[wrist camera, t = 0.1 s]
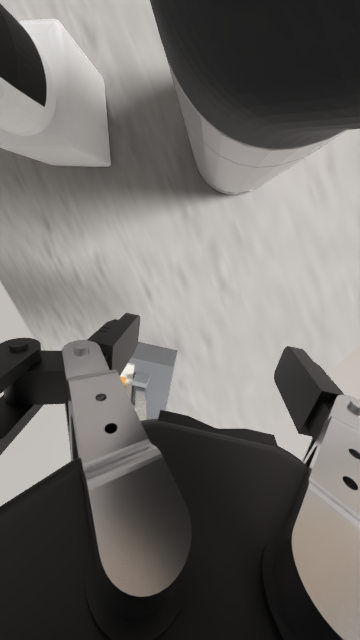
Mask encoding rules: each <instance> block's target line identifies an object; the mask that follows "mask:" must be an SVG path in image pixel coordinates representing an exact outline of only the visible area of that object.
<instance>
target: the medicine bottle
mask: <svg viewBox="0 0 360 640" xmlns="http://www.w3.org/2000/svg"><path fill="white" fill-rule="evenodd" d="M0 148H2V149H5V150H8V151H11V152H14V153H17V154H20V155H23V156H26V157H29V158H32V159H35V160H38V161H41V162H44V163H47V164H50V165H53V166H94V167H109V166H110V165H111V158H110V146H109V133H108V121H107V109H106V96H105V84H104V79H103V77H102V76H101V75H100V73H99V72H98V71H97V70H96V68H95V67H94V66H93V64H92V63H91V62H90V61H89V59H88V58H87V57H86V55H85V54H84V53H83V51H82V50H81V49H80V48H79V46H78V45H77V44H76V42H75V41H74V40H73V39H72V37H71V36H70V35H69V33H68V32H67V31H66V29H65V28H64V27H63V26H62V24H61V23H60V22H59V21H58V20H57V19H40V20H19V21H17V20H16V19H15V18H14V17H13V16H12V15H11V14H10V13H9V12H8V11H7V10H6V9H5V8H4V7H3V6H2V5H1V4H0Z"/></svg>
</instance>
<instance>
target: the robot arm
mask: <svg viewBox="0 0 360 640" xmlns="http://www.w3.org/2000/svg"><path fill="white" fill-rule="evenodd" d="M150 2H151V6H152V9H153V13H154V16H155V20H156V23H157V27H158V30H159V34H160V37H161V41H162V44H163V47H164V50H165V53H166V57H167V60H168V64H169V68H170V71H171V75H172V78H173V82H174V86H175V89H176V93H177V96H178V100H179V103H180V107H181V111H182V114H183V118H184V122H185V125H186V129H187V133H188V136H189V140H190V144H191V148H192V152H193V155H194V159H195V162H196V165H197V168H198V170H199V172H200V174H201V176H202V177H203V179H204V180H205V181H206V182H207V183H208V184H209V185H210V186H211V187H212V188H214V189H215V190H217V191H219V192H222V193H225V194H231V195H238V194H244V193H247V192H250V191H252V190H254V189H256V188H258V187H259V186H261V185H263V184H264V183H266V182H268V181H269V180H271V179H272V178H274V177H275V176H277V175H279V174H280V173H282V172H283V171H285V170H286V169H288V168H290V167H291V166H293V165H294V164H296V163H297V162H299V161H300V160H302V159H304V158H305V157H307V156H308V155H310V154H311V153H313V152H315V151H316V150H318V149H319V148H321V147H322V146H323V145H325V144H327V143H328V142H330V141H331V140H333V139H334V138H336V137H337V136H339V135H341V134H342V133H344V132H345V131H347V130H348V129H360V0H150ZM139 325H140V316H139V315H134V314H129V313H125V314H124V315H123V316H122V317H121V318H120V319H119V320H116V319H114V320H112V321H109V322H107V323H106V324H105V325H103V326H102V327H101V328H100V329H99V330H98V331H97V332H95V333H94V334H93V335H92V336H91V337H90V338H89V339H88V340H79V341H74V342H70V343H68V344H66V345H65V346H64V347H63V349H62V351H41V345H40V342H39V341H37V340H35V339H31V338H17V339H12V340H8V341H5V342H3V343H1V344H0V393H2V392H3V391H4V395H3V396H2V397H1V398H0V455H1V454H2V452H3V451H4V450H5V449H6V448H7V447H8V445H9V444H10V443H11V442H12V441H13V440H14V438H15V437H16V436H17V435H18V434H19V433H20V432H21V430H22V429H23V428H24V427H25V426H26V425H27V423H28V422H29V421H30V420H31V418H33V417H34V415H35V414H36V413H37V412H38V411H39V410H40V408H41V407H42V406H43V405H44V404H64V403H65V410H66V417H67V425H68V433H69V441H70V452H71V462H69V463H68V464H66V465H65V466H63V467H61V468H60V469H58V470H57V471H55V472H54V473H52V474H51V475H49V476H47V477H46V478H44V479H43V480H41V481H40V482H38V483H36V484H35V485H33V486H32V487H30V488H29V489H27V490H25V491H24V492H22V493H21V494H19V495H18V496H16V497H14V498H13V499H11V500H10V501H8V502H7V503H5V504H3V505H2V506H0V640H360V400H359V399H356V398H354V397H351V396H348V395H344V394H343V393H342V391H341V390H340V389H339V388H338V387H337V385H336V384H335V383H334V382H333V381H332V380H331V378H330V377H329V376H328V375H326V373H325V371H324V370H323V369H322V368H321V367H320V366H319V365H317V364H316V363H315V362H313V361H312V359H311V358H310V357H309V356H308V355H307V353H306V352H305V351H304V350H303V349H299V348H294V347H289V346H287V347H286V348H285V349H284V351H283V353H282V356H281V358H280V360H279V363H278V365H277V368H276V370H275V374H274V380H275V383H276V385H277V387H278V389H279V392H280V394H281V396H282V398H283V400H284V403H285V405H286V407H287V409H288V411H289V413H290V416H291V418H292V420H293V422H294V424H295V426H296V429H297V431H298V433H299V434H304V435H308V436H312V438H313V439H312V440H311V442H310V444H309V446H308V448H307V450H306V452H305V455H304V457H303V459H302V461H301V460H300V459H298V458H297V457H295V456H294V455H293V454H291V453H290V452H288V451H286V450H284V449H283V448H281V447H279V446H277V443H276V440H275V437H274V435H271V434H266V433H262V432H258V431H253V430H249V429H217V428H214V427H211V426H209V425H207V424H205V423H202V422H200V421H198V420H196V419H193V418H191V417H189V416H186V415H181V414H177V413H172V412H168V411H163V410H160V413H159V417H158V419H147V420H142V421H140V419H139V417H138V415H137V413H136V411H135V409H134V406H133V404H132V402H131V400H130V398H129V396H128V394H127V391H126V389H125V387H124V385H123V383H122V381H121V378H120V375H121V373H122V372H123V370H124V368H125V367H126V365H127V364H128V362H129V360H130V359H131V357H132V355H133V354H134V352H135V350H136V347H137V343H138V335H139Z"/></svg>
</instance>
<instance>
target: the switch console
mask: <svg viewBox="0 0 360 640" xmlns="http://www.w3.org/2000/svg"><path fill="white" fill-rule="evenodd" d="M176 355H177V351H176V350H171V349H167V348H162V347H158V346H153V345H149V344H144V343H140V342H138V343H137V347H136V350H135V352H134V354H133V355H132V357H131V359H130V360H129V362H128V364H127V365H126V367H125V368H124V370H123V372H122V373H121V375H120V378H121V381H122V383H123V385H124V387H125V389H126V391H127V394H128V396H129V398H130V400H131V402H132V404H133V406H134V409H135V403H134V401H133V398H134V388H135V386H139V387H143V388H146V391H145V397H146V417H147V419H158V417H159V413H160V410H163V411H165V410H166V405H167V400H168V395H169V390H170V385H171V380H172V375H173V370H174V365H175V360H176Z"/></svg>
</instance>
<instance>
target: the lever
mask: <svg viewBox="0 0 360 640" xmlns="http://www.w3.org/2000/svg"><path fill="white" fill-rule="evenodd" d="M145 391H146V388H143V387H139V386H135V388H134V398H133V401H134V403H135V411H136V413H137V415H138V417H139V419H140V421H142V420H147V417H146V397H145Z"/></svg>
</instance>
